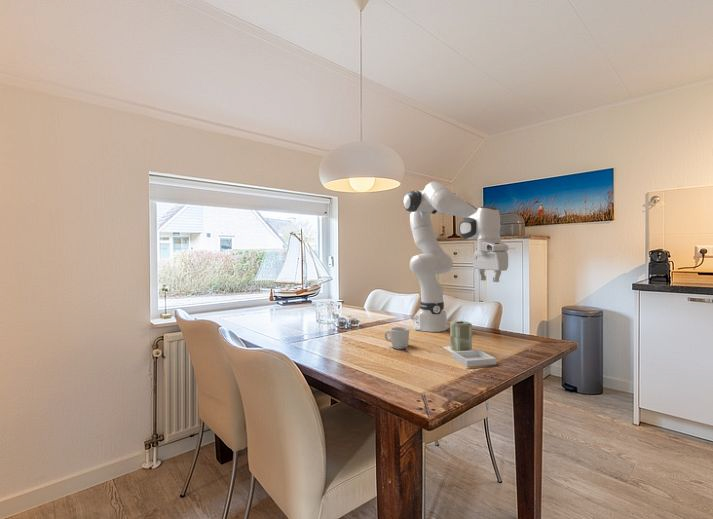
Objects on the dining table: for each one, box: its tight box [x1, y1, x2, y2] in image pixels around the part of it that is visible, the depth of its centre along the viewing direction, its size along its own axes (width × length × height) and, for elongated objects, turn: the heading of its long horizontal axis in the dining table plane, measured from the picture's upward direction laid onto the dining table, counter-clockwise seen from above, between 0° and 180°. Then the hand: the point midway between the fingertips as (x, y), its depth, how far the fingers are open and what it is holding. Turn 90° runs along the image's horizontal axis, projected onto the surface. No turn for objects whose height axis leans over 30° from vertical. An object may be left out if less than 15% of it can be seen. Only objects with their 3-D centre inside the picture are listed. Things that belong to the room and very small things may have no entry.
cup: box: [384, 326, 410, 350], centre depth 150 cm, size 11×8×8 cm
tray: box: [451, 349, 497, 370], centre depth 127 cm, size 11×11×3 cm
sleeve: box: [449, 320, 473, 352], centre depth 140 cm, size 6×6×11 cm
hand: (489, 281), depth 142 cm, fingers open, 8 cm apart
